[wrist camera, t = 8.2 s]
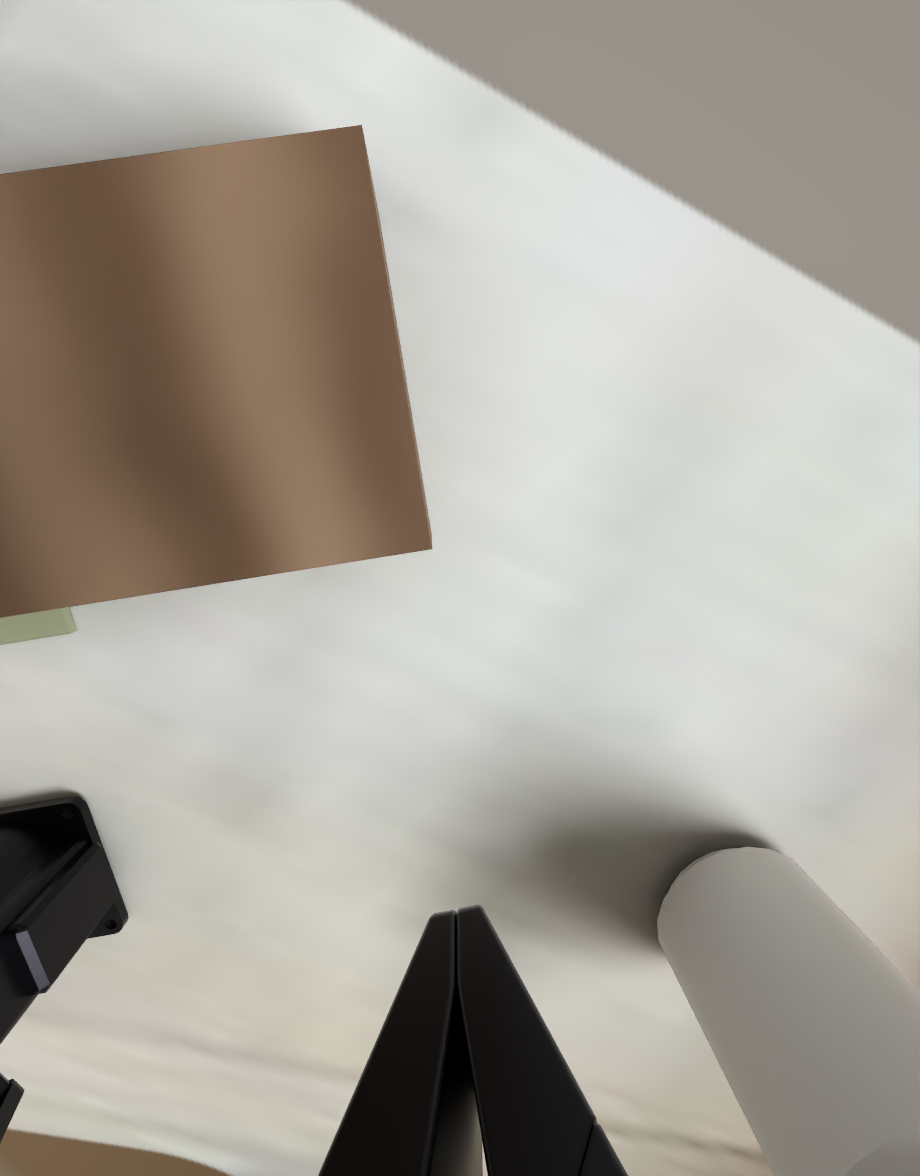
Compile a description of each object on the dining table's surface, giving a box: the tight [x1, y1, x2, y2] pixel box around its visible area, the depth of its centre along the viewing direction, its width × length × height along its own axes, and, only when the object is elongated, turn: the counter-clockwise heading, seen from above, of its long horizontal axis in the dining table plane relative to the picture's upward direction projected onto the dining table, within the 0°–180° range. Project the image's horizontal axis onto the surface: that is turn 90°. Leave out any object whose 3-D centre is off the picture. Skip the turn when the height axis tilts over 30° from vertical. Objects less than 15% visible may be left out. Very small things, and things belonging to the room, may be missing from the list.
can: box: [657, 847, 920, 1176], centre depth 18 cm, size 8×8×12 cm
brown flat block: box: [0, 125, 432, 618], centre depth 15 cm, size 14×11×4 cm
